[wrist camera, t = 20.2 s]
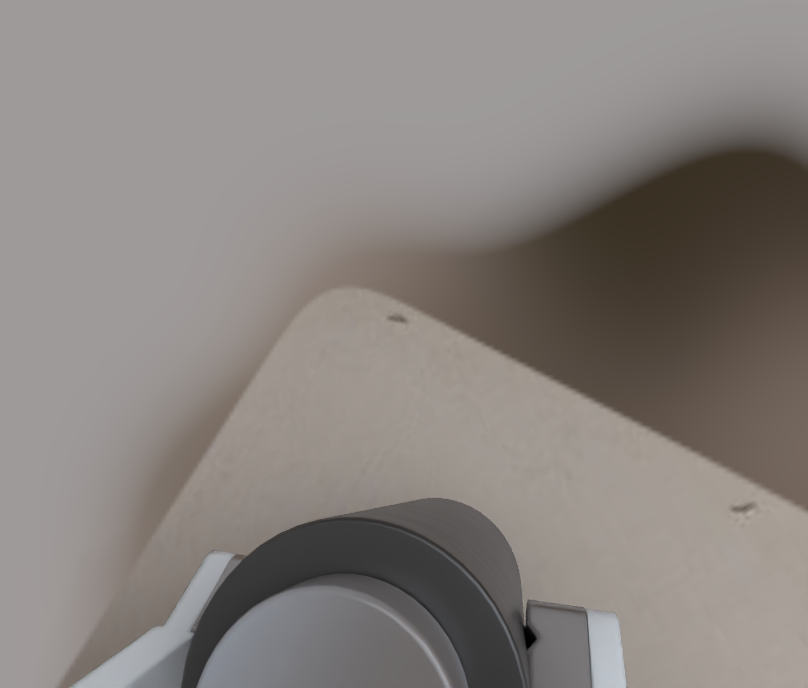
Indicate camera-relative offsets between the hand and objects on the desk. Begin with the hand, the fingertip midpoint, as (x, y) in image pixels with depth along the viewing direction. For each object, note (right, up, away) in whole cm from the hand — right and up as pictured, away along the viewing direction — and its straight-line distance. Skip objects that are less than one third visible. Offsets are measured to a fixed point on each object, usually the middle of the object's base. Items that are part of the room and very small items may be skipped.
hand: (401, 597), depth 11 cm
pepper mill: (+1, -2, +5) cm, 5 cm away
